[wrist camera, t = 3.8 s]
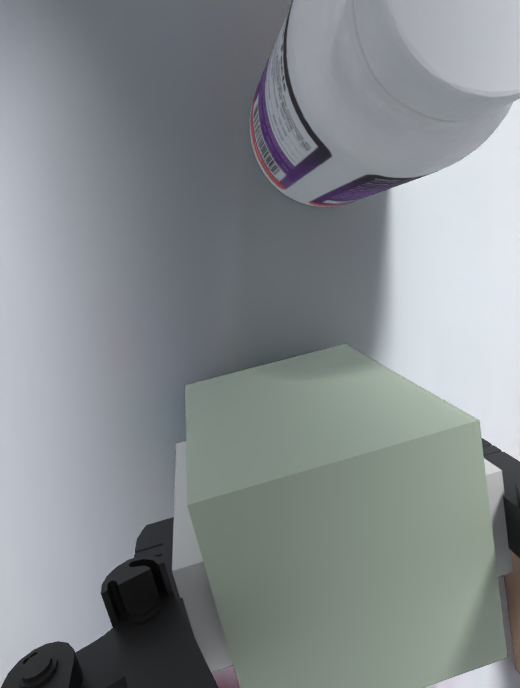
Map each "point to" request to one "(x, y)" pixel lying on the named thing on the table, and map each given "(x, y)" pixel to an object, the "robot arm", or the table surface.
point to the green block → (342, 525)
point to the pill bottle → (381, 92)
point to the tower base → (514, 606)
